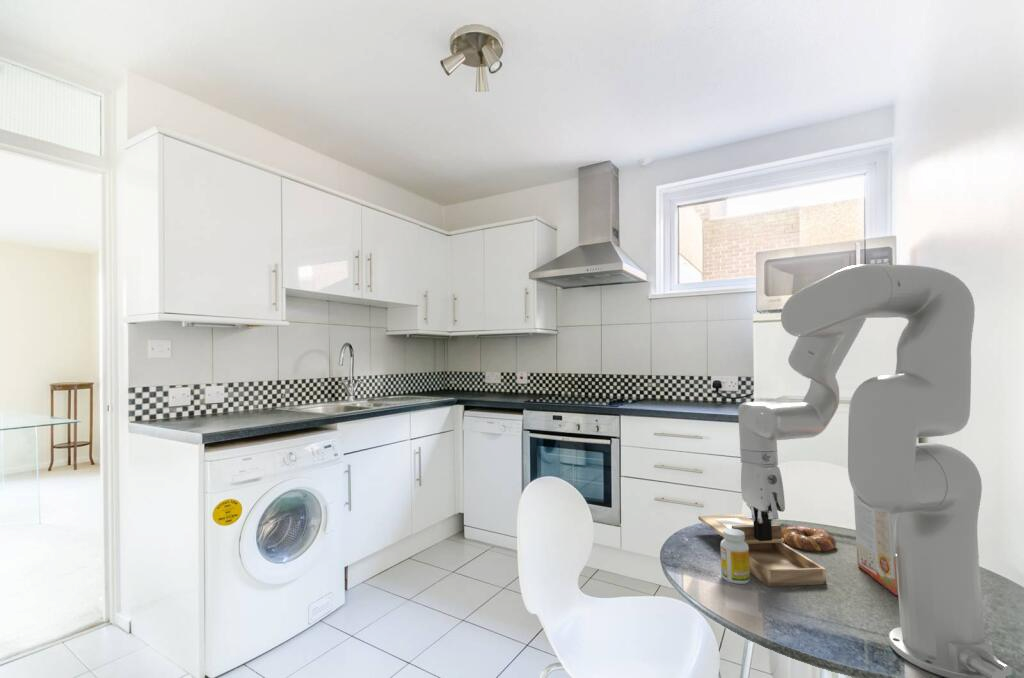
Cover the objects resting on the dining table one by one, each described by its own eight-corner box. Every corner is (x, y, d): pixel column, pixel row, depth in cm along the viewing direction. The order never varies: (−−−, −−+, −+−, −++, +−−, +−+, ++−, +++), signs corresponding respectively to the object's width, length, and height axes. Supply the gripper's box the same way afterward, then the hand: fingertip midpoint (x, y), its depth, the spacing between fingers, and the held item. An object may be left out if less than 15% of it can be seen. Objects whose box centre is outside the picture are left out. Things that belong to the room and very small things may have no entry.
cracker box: (931, 599, 88) (923, 485, 89) (894, 596, 89) (886, 484, 90) (888, 567, 102) (881, 469, 103) (856, 565, 103) (850, 468, 104)
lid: (784, 542, 109) (783, 525, 109) (733, 544, 108) (732, 527, 108) (742, 517, 126) (741, 503, 127) (698, 519, 126) (697, 504, 126)
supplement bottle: (716, 578, 99) (714, 531, 99) (729, 570, 102) (727, 525, 102) (743, 587, 94) (740, 538, 95) (755, 579, 98) (752, 531, 98)
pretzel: (775, 547, 115) (774, 531, 115) (782, 534, 124) (781, 519, 124) (835, 557, 108) (834, 541, 108) (838, 543, 117) (836, 527, 117)
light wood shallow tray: (826, 584, 95) (825, 568, 95) (768, 586, 94) (767, 571, 95) (773, 549, 113) (772, 536, 113) (724, 551, 112) (723, 538, 112)
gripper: (795, 463, 100) (801, 551, 99) (756, 450, 115) (760, 527, 114) (761, 464, 100) (766, 553, 99) (726, 451, 115) (730, 528, 114)
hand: (763, 539), depth 106 cm, fingers closed
